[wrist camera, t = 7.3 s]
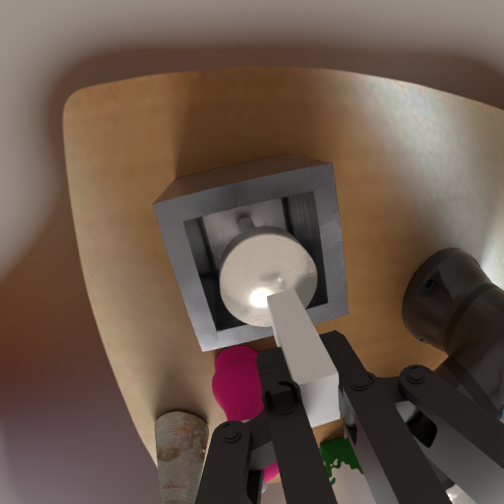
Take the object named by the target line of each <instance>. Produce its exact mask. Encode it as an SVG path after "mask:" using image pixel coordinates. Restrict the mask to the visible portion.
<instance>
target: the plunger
mask: <svg viewBox="0 0 504 504" xmlns="http://www.w3.org/2000/svg"><path fill="white" fill-rule="evenodd" d="M202 217H203V221H204V225H205V229H206V232H207V236H208V240H209V243H210V247H211V251H212V254H213V258H214V262H215V265H216V269H217V270H218V269H219V279H220V292H221V296H222V299H223V302H224V304H225V306H226V308H227V309H228V310H229V311H230V313H231V314H232V315H234V316H235V317H236V318H237V319H239V320H241V321H242V322H245V323H247V324H250V325H254V326H260V327H268V326H272V323H271V319H270V314H269V310H268V305H267V301H266V296H267V295H271V294H275V293H279V292H283V291H287V290H291V289H294V290H295V292H296V294H297V295H298V297H299V299H300V301H301V303H302V305H303V307H304V309H305V308H306V307H307V306H308V305H309V303H310V302H311V300H312V298H313V296H314V293H315V291H316V286H317V270H316V266H315V264H314V261H313V260H312V258H311V256H310V255H309V254H308V252H307V251H306V250H305V249H304V247H303V246H302V245H301V244H300V243H299V241H298V240H297V239H296V238H295V237H294V236H293V235H291V234H290V233H289V232H287V230H286V225H285V219H284V214H283V208H282V203H281V198H277V199H273V200H268V201H264V202H260V203H255V204H251V205H247V206H242V207H238V208H234V209H230V210H226V211H222V212H217V213H213V214H209V215H205V216H202Z"/></svg>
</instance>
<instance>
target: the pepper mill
mask: <svg viewBox="0 0 504 504" xmlns="http://www.w3.org/2000/svg"><path fill="white" fill-rule="evenodd" d="M257 355H258V353H257V352H256V351H255V350H254V349H252V348H250V347H246V346H232V347H229V348H226V349H225V350H223V351H222V352H220V353H219V355H218V356H217V357H216V360H215V374H214V376H213V379H212V389H213V394H214V396H215V399H216V401H217V402H218V404H219V405H220V406H221V408H222V409H223V410H224V412H225V414H226V416H227V420H228V421H232V420H236V421H241V422H243V423H245V422H247V421H249V420H251V419H253V418H255V417H256V416H257V415H258V414H260V413H261V411H262V409H263V407H264V404H263V401H262V397H261V395H262V388H261V383H260V379H259V374H258V369H257V364H256V358H257ZM278 473H279V468H278V464H277V462H275V463H273V464H271V465H269V466H267V467H266V468H264V476H263V484H262V492H261V493H263V492H264V491H265V490H266V489H267V483H266V482H267V481H269V480H271V479H272V478H274V477H275V476H276V475H277V474H278Z"/></svg>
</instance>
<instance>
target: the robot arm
mask: <svg viewBox="0 0 504 504" xmlns="http://www.w3.org/2000/svg"><path fill="white" fill-rule="evenodd" d="M266 301H267V305H268V310H269V314H270V319H271V323H272V328H273V333H274V337H275V341H276V344H277V347H276V348H272V349H268V350H264V351H260V352H258V355H257V358H256V364H257V369H258V374H259V379H260V383H261V388H262V395H261V397H262V401H263V404H264V407H263V409H262V411H261V413H260V414H258V415H257V416H256V417H255V418H253V419H251V420H249V421H247V422H245V423H243V422H241V421H236V420H232V421H226V422H224V423H222V424H220V425H219V426H218V427H217V428H216V429H215V430H214V432H213V434H212V438H211V442H210V446H209V450H208V454H207V457H206V461H205V465H204V469H203V473H202V477H201V481H200V485H199V488H198V492H197V496H196V500H195V504H260V500H261V492H262V484H263V476H264V468H266V467H267V466H269V465H271V464H273V463H275V462H277V464H278V468H279V473H280V477H281V481H282V485H283V490H284V494H285V499H286V503H287V504H338V502H337V500H336V497H335V494H334V491H333V488H332V485H331V482H330V479H329V477H328V474H327V471H326V468H325V465H324V462H323V459H322V457H321V454H320V451H319V448H318V445H317V442H316V439H315V437H314V434H313V431H312V427H315V426H318V425H322V424H325V423H328V422H332V421H335V420H338V419H340V413H341V415H342V418H343V420H344V439H346V438H347V436H348V439H349V441H350V443H351V445H352V448H353V450H354V452H355V455H356V457H357V459H358V462H359V464H360V466H361V469H362V471H363V473H364V476H365V478H366V480H367V483H368V485H369V487H370V490H371V492H372V495H373V497H374V499H375V502H376V504H504V424H503V423H502V422H501V421H500V420H501V419H502V418H503V420H504V291H503V290H502V289H501V288H499V287H498V286H496V285H495V284H493V283H492V282H491V281H490V279H489V278H488V277H487V275H486V274H485V273H484V272H483V270H482V269H481V268H480V265H479V264H478V262H477V261H476V260H475V259H474V258H473V257H472V256H471V255H469V254H467V253H466V252H464V251H462V250H460V249H456V248H450V249H445V250H442V251H440V252H438V253H436V254H435V255H433V256H432V257H431V258H429V259H428V260H427V261H426V262H425V263H424V264H423V265H422V266H421V267H420V269H419V270H418V271H417V273H416V274H415V275H414V277H413V279H412V280H411V282H410V284H409V286H408V288H407V291H406V294H405V297H404V301H403V307H402V317H403V322H404V324H405V326H406V328H407V329H408V330H409V332H410V333H411V334H412V335H413V336H414V337H415V338H416V339H418V340H419V341H421V342H424V343H428V344H431V345H432V346H434V347H436V348H438V349H440V350H442V351H444V352H446V353H447V355H448V356H449V357H448V358H447V359H446V360H445V361H444V362H443V363H442V364H440V365H439V366H438V367H437V368H436V369H435V370H434V371H432V370H430V369H429V368H427V367H425V366H423V365H410V366H408V367H406V368H404V369H403V370H402V371H401V373H400V376H398V377H390V378H379V377H376V376H375V375H374V374H372V373H370V372H367V371H366V369H365V368H364V366H363V365H362V363H361V361H360V360H359V358H358V357H357V355H356V353H355V352H354V350H352V347H351V346H350V344H349V342H348V341H347V339H346V338H345V336H344V335H343V334H341V333H339V332H338V331H336V330H334V331H331V332H328V333H324V334H321V335H318V333H317V331H316V329H315V327H314V326H313V324H312V322H311V320H310V318H309V316H308V314H307V312H306V310H305V309H304V307H303V305H302V303H301V301H300V299H299V297H298V295H297V294H296V292H295V290H294V289H291V290H287V291H283V292H279V293H275V294H271V295H267V296H266Z"/></svg>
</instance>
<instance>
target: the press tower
mask: <svg viewBox="0 0 504 504" xmlns="http://www.w3.org/2000/svg"><path fill="white" fill-rule="evenodd" d="M277 198H281V203H282V208H283V214H284V219H285V225H286V230H287V232H289V233H290V234H291V235H293V236H294V237H295V238H296V239H297V240H298V241H299V243H300V244H301V245H302V246H303V247H304V249H305V250H306V251H307V252H308V254H309V255H310V256H311V258H312V260H313V261H314V264H315V266H316V270H317V286H316V291H315V293H314V296H313V298H312V300H311V302H310V303H309V305H308V306H307V307H306V308H305V310H306V312H307V314H308V316H309V318H310V320H311V322H312V324H313V325H314V324H317V323H321V322H324V321H327V320H331V319H334V318H338V317H341V316H344V315H347V314H348V300H347V286H346V273H345V262H344V252H343V242H342V233H341V224H340V216H339V208H338V200H337V193H336V186H335V179H334V172H333V166H332V163H329V162H325V161H321V160H316V159H312V158H307V157H302V156H297V155H292V154H287V153H286V154H281V155H276V156H271V157H266V158H261V159H257V160H252V161H247V162H243V163H238V164H234V165H230V166H225V167H221V168H217V169H213V170H209V171H205V172H201V173H197V174H193V175H189V176H185V177H181V178H178V179H175V180H174V181H173V182H172V183H171V184H170V185H169V186H168V188H167V189H166V190H165V191H164V192H163V193H162V194H161V195H160V197H159V198H158V199H157V200H156V201H155V202H154V203H153V206H154V210H155V213H156V217H157V220H158V224H159V227H160V230H161V233H162V237H163V240H164V243H165V246H166V250H167V253H168V256H169V259H170V262H171V265H172V268H173V271H174V274H175V277H176V280H177V283H178V286H179V289H180V292H181V295H182V298H183V301H184V303H185V306H186V309H187V312H188V315H189V317H190V320H191V323H192V325H193V328H194V331H195V334H196V336H197V339H198V341H199V344H200V347H201V349H202V352H204V351H209V350H213V349H218V348H223V347H227V346H232V345H236V344H240V343H245V342H249V341H253V340H257V339H261V338H265V337H269V336H273V335H274V333H273V328H272V326H268V327H260V326H254V325H250V324H247V323H245V322H242V321H241V320H239V319H237V318H236V317H235V316H234V315H232V314H231V313H230V311H229V310H228V309H227V308H226V306H225V304H224V302H223V299H222V296H221V292H220V279H219V269H218V270H217V269H216V265H215V262H214V258H213V254H212V251H211V247H210V243H209V240H208V236H207V232H206V229H205V225H204V221H203V217H202V216H205V215H209V214H213V213H217V212H222V211H226V210H230V209H234V208H238V207H242V206H247V205H251V204H255V203H260V202H264V201H268V200H273V199H277Z"/></svg>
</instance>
